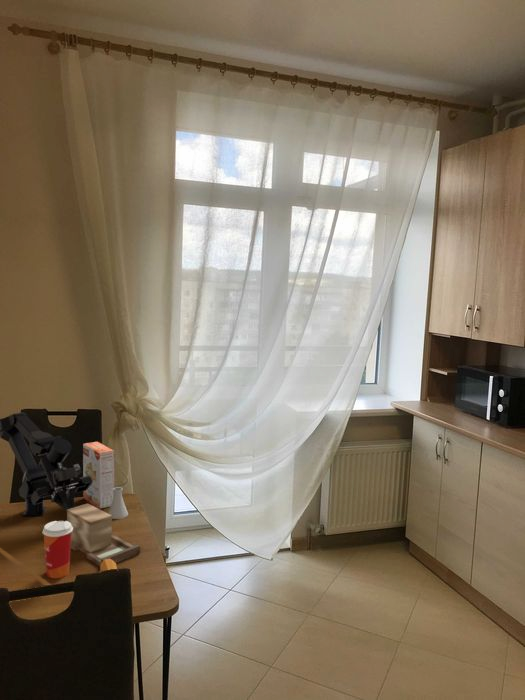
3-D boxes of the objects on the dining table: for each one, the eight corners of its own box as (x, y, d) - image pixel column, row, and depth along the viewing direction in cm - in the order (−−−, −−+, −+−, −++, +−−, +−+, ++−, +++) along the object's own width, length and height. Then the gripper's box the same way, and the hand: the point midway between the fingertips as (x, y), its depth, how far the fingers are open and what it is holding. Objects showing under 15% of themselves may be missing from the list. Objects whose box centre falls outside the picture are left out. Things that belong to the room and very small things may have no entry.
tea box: (66, 538, 170) (66, 509, 169) (87, 531, 176) (87, 503, 175) (90, 552, 162) (90, 522, 161) (111, 544, 167) (112, 515, 166)
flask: (122, 522, 185) (123, 493, 184) (102, 520, 186) (102, 491, 185) (132, 514, 192) (132, 486, 191) (112, 512, 193) (112, 484, 192)
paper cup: (47, 568, 153) (47, 519, 152) (76, 568, 154) (76, 519, 153) (38, 583, 146) (38, 531, 144) (68, 583, 146) (68, 531, 145)
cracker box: (82, 499, 204) (82, 443, 202) (97, 495, 208) (98, 440, 206) (98, 511, 193) (98, 452, 191) (114, 507, 197) (115, 449, 195)
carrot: (102, 574, 153) (95, 561, 152) (117, 565, 155) (111, 553, 153) (116, 620, 136) (109, 606, 134) (133, 610, 137) (127, 597, 136)
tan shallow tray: (38, 545, 166) (38, 536, 166) (103, 523, 183) (103, 515, 183) (86, 577, 150) (86, 566, 149) (153, 550, 166) (153, 540, 166)
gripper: (35, 463, 169) (54, 508, 163) (89, 451, 183) (109, 492, 177) (23, 482, 175) (40, 526, 169) (77, 469, 189) (95, 509, 183)
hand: (72, 513), depth 174 cm, fingers closed
